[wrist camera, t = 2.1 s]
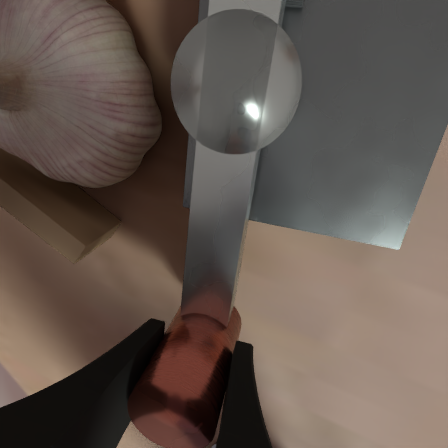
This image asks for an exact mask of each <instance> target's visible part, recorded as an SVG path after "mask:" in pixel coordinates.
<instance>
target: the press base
mask: <svg viewBox="0 0 448 448" xmlns="http://www.w3.org/2000/svg"><path fill="white" fill-rule="evenodd" d="M208 9H209V0H200V4H199V16H198V23H199V22H201V21H202V20H204V19H205V18H207V17H208ZM282 29H283V30H284V31H285V32H286V34H287V35H288V36H289V38H290V39H291V41H292V43H293V45H294V46H295V49H296V51H297V54H298V57H299V61H300V65H301V72H302V89H301V96H300V100H299V103H298V107H297V109H296V112H295V114H294V116H293V118H292V120H291V122H290V123H289V125H288V126H287V127H286V129H285V130H284V131H283V132H282V133H281V134H280V135H279V137H277V138H276V139H275V140H274V141H273V142H271V143H270V144H268V145H267V146H265V147H263V148H261V150H260V156H259V162H258V168H257V174H256V180H255V185H254V191H253V197H252V203H251V209H250V215H249V220H252V221H257V222H262V223H267V224H272V225H277V226H282V227H287V228H292V229H297V230H302V231H307V232H312V233H317V234H322V235H327V236H332V237H337V238H342V239H347V240H352V241H357V242H362V243H367V244H372V245H377V246H382V247H387V248H392V249H397V250H399V248H400V246H401V243H402V241H403V238H404V235H405V233H406V230H407V228H408V225H409V223H410V220H411V217H412V215H413V212H414V210H415V207H416V204H417V202H418V199H419V197H420V194H421V192H422V189H423V186H424V184H425V181H426V179H427V176H428V173H429V171H430V168H431V166H432V163H433V161H434V158H435V155H436V153H437V150H438V148H439V145H440V142H441V140H442V137H443V135H444V132H445V130H446V127H447V124H448V0H304V1H303V6H302V8H296V7H285V11H284V16H283V22H282ZM195 150H196V140H195V139H194V138H193V137H192V136H191V135H190V134H189V138H188V150H187V162H186V174H185V186H184V198H183V207H187V208H190V204H191V193H192V182H193V172H194V161H195Z"/></svg>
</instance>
